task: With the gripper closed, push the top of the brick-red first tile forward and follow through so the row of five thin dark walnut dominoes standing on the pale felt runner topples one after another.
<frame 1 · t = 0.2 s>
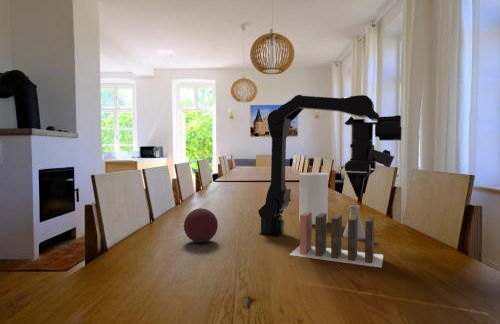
hand: (360, 195, 95), 14 cm above the table, fingers open, 9 cm apart
domino 4: (352, 256, 83), resting on runner
domino 5: (369, 259, 81), resting on runner
runner: (336, 256, 85), on the table
domino 1: (305, 250, 88), resting on runner
decorative ball: (200, 242, 98), on the table
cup: (313, 222, 125), on the table
flask: (354, 238, 103), on the table
domino 2: (320, 252, 86), resting on runner
domino 3: (336, 254, 85), resting on runner
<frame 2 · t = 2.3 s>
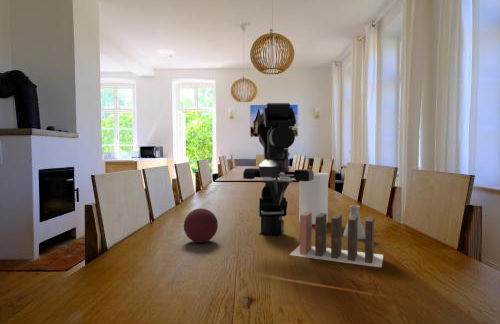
hand: (277, 205, 91), 12 cm above the table, fingers closed
nothing on the table moved.
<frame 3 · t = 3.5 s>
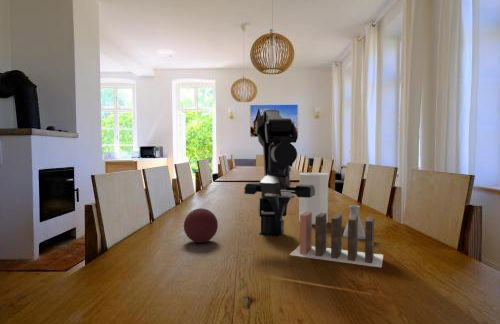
hand: (278, 220, 91), 8 cm above the table, fingers closed
nothing on the table moved.
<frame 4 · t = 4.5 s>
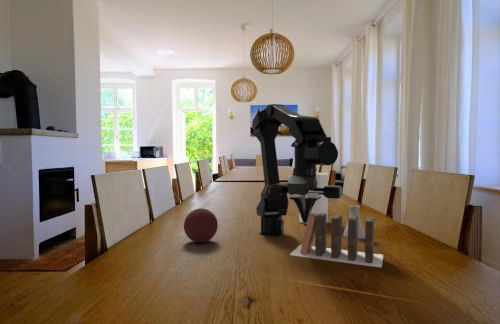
hand: (305, 222, 87), 8 cm above the table, fingers closed
domino 1: (305, 250, 88), point 1 cm above the table, tilted 13°, touching runner
everything else where it was.
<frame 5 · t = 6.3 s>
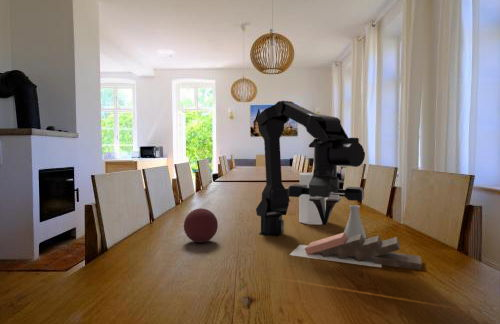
hand: (324, 225, 86), 8 cm above the table, fingers closed
domino 4: (357, 254, 82), point 1 cm above the table, tilted 67°, touching domino 3, domino 5
domino 5: (374, 256, 81), point 1 cm above the table, tilted 92°, touching domino 4, runner
domino 1: (308, 248, 87), point 1 cm above the table, tilted 67°, touching domino 2, runner
domino 2: (324, 250, 86), point 1 cm above the table, tilted 67°, touching domino 1, domino 3, runner
domino 3: (340, 252, 84), point 1 cm above the table, tilted 67°, touching domino 2, domino 4, runner
everything else where it was.
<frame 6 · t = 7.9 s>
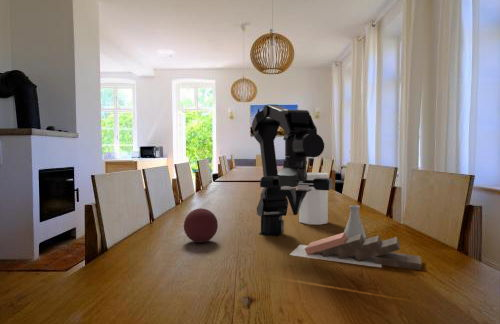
hand: (295, 214, 89), 10 cm above the table, fingers closed
nothing on the table moved.
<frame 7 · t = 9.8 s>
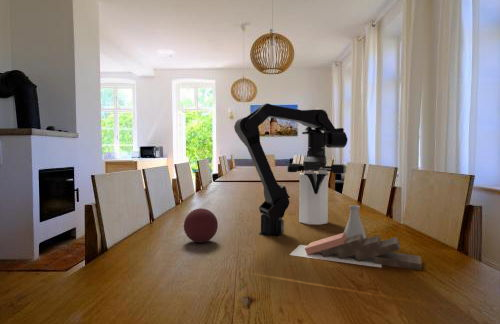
hand: (316, 193, 111), 12 cm above the table, fingers closed
nothing on the table moved.
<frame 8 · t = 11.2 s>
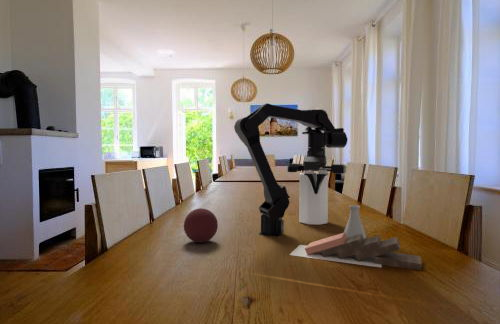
hand: (316, 193, 111), 12 cm above the table, fingers closed
nothing on the table moved.
at the end: domino 5 tilted 92°; domino 1 tilted 67° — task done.
